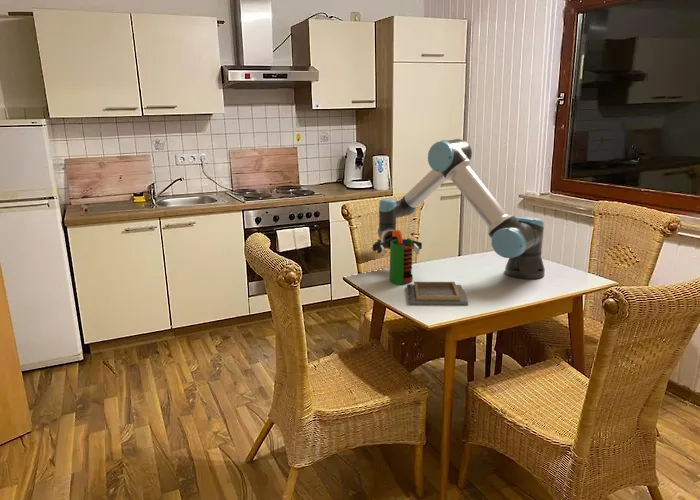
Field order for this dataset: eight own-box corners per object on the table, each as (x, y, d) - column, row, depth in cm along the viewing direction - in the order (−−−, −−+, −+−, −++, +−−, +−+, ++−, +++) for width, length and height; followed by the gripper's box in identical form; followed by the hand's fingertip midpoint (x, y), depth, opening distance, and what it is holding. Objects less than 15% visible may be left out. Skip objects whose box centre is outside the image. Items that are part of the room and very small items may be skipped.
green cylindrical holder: (411, 285, 201) (412, 234, 196) (388, 284, 203) (388, 233, 198) (413, 277, 211) (414, 228, 206) (391, 276, 213) (391, 228, 207)
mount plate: (460, 287, 198) (460, 280, 197) (467, 305, 180) (468, 297, 180) (407, 287, 199) (407, 280, 198) (409, 304, 182) (409, 297, 181)
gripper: (419, 246, 230) (431, 259, 210) (362, 248, 228) (369, 262, 207) (419, 229, 228) (432, 241, 208) (362, 231, 226) (369, 243, 205)
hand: (401, 251), depth 207 cm, fingers open, 13 cm apart
